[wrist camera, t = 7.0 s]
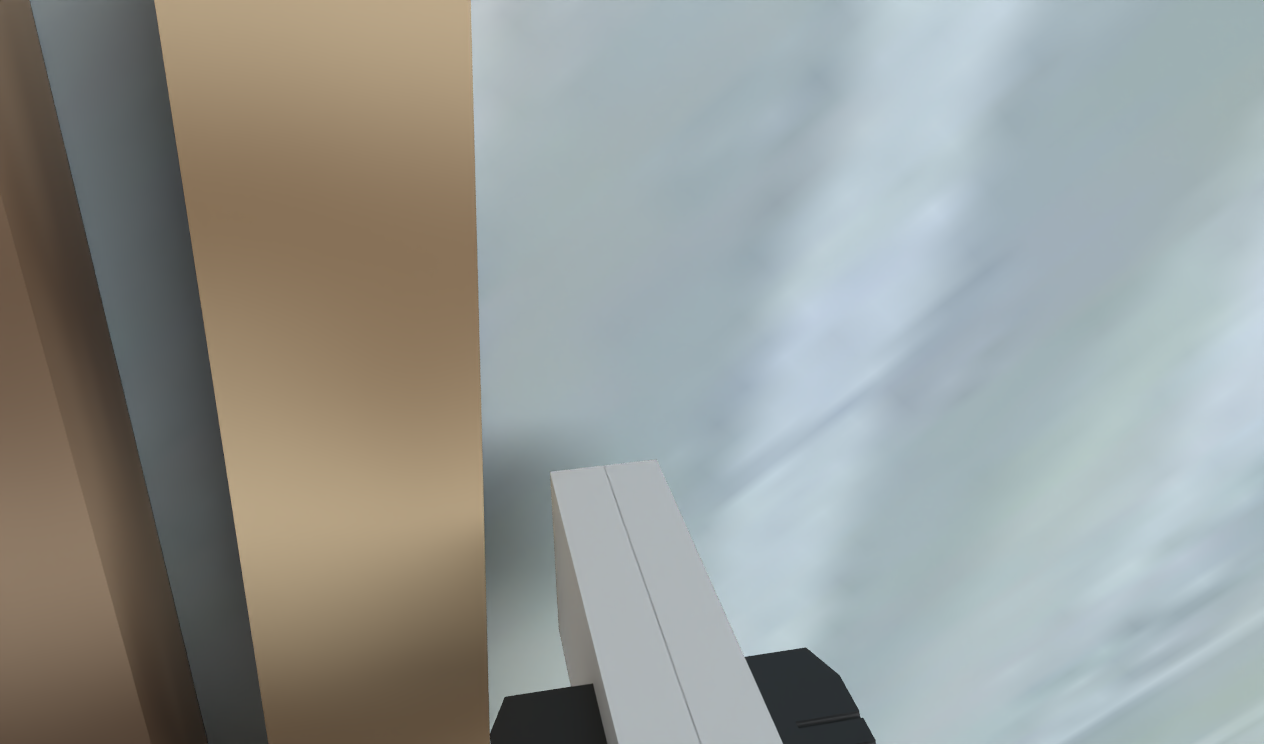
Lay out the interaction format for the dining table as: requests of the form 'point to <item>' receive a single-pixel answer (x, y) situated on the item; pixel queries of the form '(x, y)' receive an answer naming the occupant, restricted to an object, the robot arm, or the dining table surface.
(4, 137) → the bar
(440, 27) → the tongs swing jaw
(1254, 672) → the dining table surface
